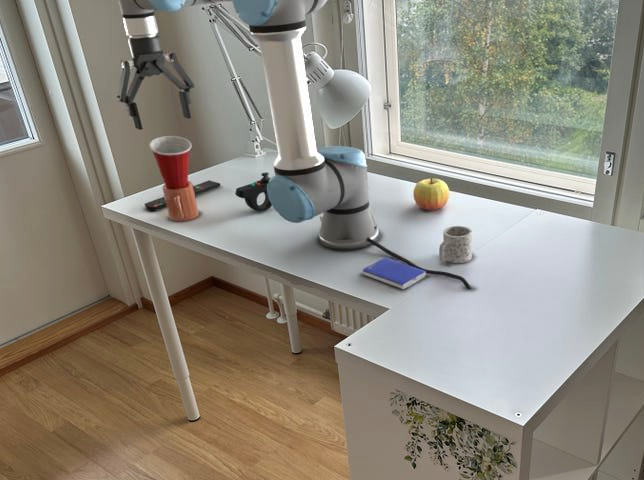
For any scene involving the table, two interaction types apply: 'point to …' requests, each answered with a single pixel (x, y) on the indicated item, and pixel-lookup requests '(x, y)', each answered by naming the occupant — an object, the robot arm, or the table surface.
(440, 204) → the apple
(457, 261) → the mug
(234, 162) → the table surface
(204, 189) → the remote control
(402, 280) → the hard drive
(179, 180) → the plastic cup
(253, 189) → the controller
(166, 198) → the mug
